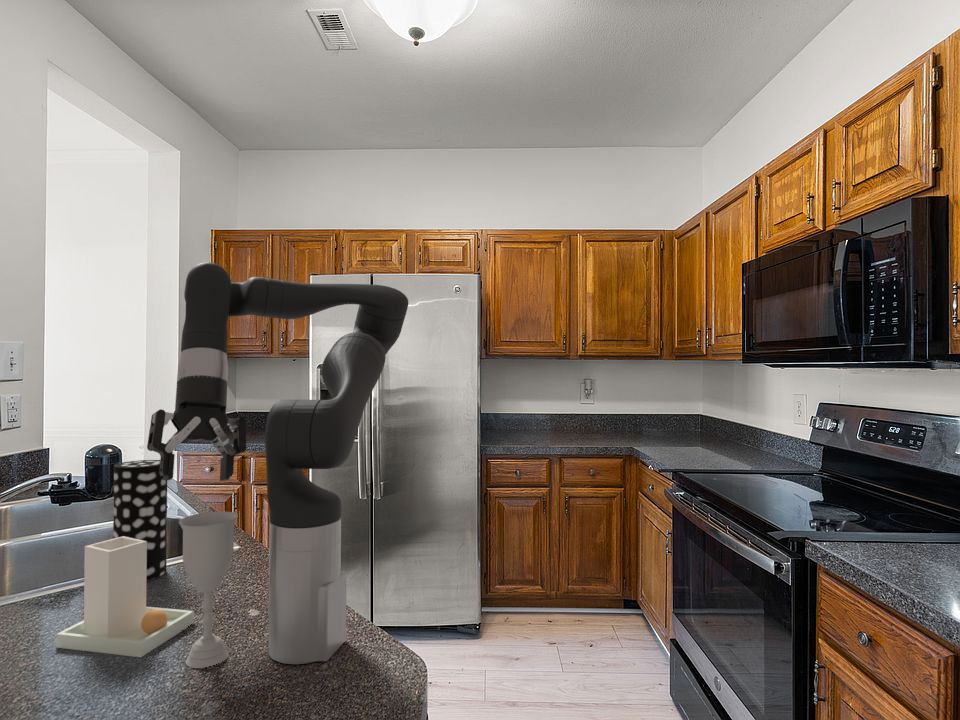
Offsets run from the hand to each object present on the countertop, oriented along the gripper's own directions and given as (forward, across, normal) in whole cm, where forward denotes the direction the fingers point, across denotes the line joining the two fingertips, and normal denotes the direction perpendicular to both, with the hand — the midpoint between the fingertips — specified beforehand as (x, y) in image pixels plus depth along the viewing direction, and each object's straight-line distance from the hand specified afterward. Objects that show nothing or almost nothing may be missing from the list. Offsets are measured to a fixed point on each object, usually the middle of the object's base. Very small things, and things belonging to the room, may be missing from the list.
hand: (197, 480), depth 91 cm
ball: (+20, +5, +1) cm, 20 cm away
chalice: (+25, +1, +11) cm, 27 cm away
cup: (+20, +8, -5) cm, 22 cm away
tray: (+21, +7, -3) cm, 22 cm away
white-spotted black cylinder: (+13, -1, -27) cm, 30 cm away
